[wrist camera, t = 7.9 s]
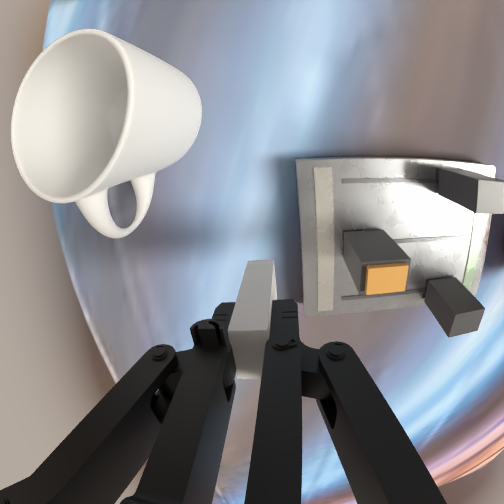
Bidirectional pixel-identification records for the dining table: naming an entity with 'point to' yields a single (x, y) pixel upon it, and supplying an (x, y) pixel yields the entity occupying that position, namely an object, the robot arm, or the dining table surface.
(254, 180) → the dining table surface
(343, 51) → the dining table surface
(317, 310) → the panel
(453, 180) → the block
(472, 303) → the breaker
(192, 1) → the dining table surface
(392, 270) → the block
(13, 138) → the mug
